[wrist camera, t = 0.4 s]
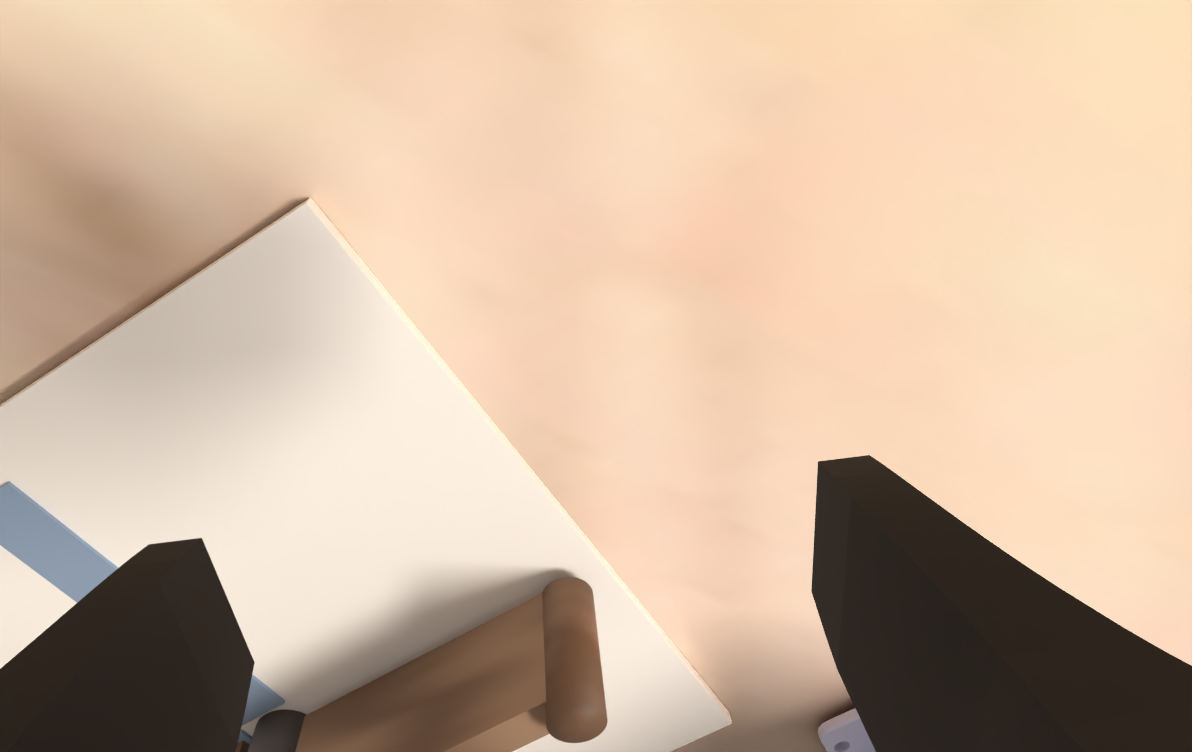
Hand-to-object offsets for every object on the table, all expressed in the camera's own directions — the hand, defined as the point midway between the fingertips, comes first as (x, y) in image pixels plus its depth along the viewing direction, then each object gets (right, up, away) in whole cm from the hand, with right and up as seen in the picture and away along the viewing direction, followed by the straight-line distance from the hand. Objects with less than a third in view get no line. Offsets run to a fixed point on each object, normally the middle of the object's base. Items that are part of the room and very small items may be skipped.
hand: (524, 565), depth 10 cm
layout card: (-9, -7, +14) cm, 18 cm away
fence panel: (-3, -6, +13) cm, 15 cm away
